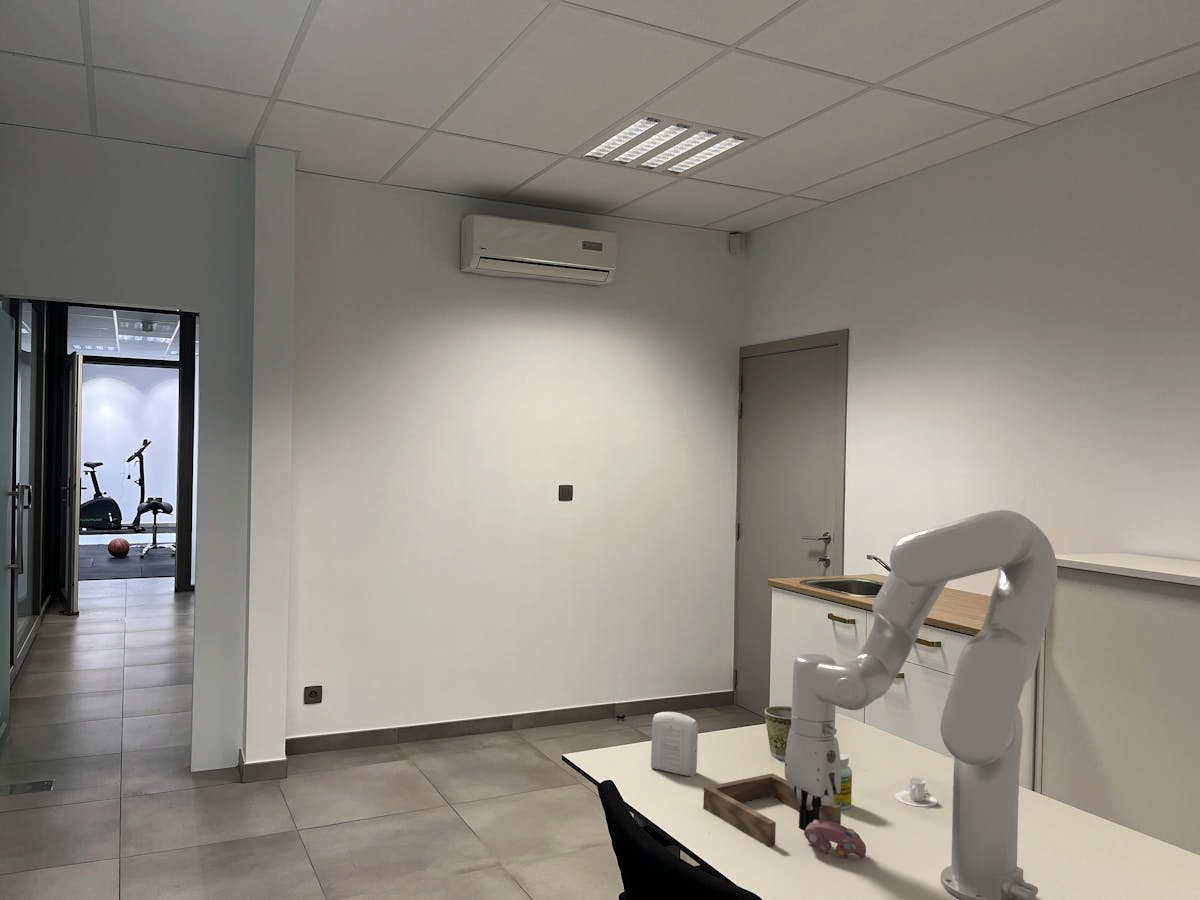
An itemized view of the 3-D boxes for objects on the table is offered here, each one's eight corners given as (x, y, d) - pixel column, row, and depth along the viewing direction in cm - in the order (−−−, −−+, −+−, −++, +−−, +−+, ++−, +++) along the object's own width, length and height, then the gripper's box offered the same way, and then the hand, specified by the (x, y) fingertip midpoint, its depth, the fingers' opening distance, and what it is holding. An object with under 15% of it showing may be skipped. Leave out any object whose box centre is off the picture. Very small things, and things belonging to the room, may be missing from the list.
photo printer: (699, 772, 192) (701, 714, 192) (691, 778, 188) (693, 719, 188) (656, 763, 197) (657, 706, 197) (647, 769, 193) (649, 711, 193)
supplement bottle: (836, 797, 179) (837, 749, 179) (857, 807, 175) (858, 757, 175) (817, 803, 176) (818, 754, 176) (838, 812, 172) (839, 762, 172)
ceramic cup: (755, 750, 207) (756, 707, 207) (794, 747, 210) (795, 704, 210) (783, 770, 194) (784, 723, 194) (824, 766, 197) (825, 720, 197)
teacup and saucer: (912, 790, 185) (913, 770, 185) (947, 802, 179) (948, 782, 179) (886, 799, 180) (887, 778, 180) (921, 812, 174) (922, 791, 174)
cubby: (840, 828, 164) (841, 806, 164) (768, 846, 156) (769, 823, 156) (771, 793, 181) (772, 773, 181) (703, 808, 172) (703, 787, 172)
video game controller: (805, 856, 156) (799, 826, 153) (813, 837, 159) (808, 807, 157) (861, 872, 150) (856, 841, 148) (869, 851, 154) (864, 821, 151)
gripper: (859, 736, 154) (855, 842, 154) (800, 711, 167) (796, 809, 167) (827, 741, 151) (822, 850, 151) (768, 716, 164) (764, 816, 164)
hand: (808, 828), depth 159 cm, fingers closed
